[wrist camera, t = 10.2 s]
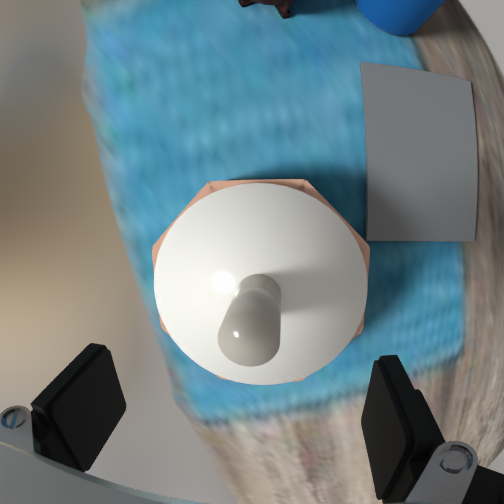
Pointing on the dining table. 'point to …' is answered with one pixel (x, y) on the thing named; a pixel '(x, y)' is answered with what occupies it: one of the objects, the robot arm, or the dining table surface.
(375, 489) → the robot arm
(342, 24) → the dining table surface
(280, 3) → the mate gourd
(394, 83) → the mat
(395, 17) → the beverage can
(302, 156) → the dining table surface
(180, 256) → the lid
